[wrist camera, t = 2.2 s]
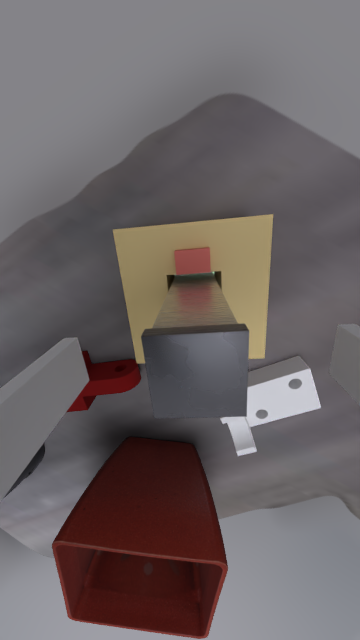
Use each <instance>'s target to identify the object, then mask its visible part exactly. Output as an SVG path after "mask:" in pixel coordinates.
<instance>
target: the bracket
mask: <svg viewBox="0 0 360 640" xmlns="http://www.w3.org/2000/svg"><path fill="white" fill-rule="evenodd" d="M319 408H321V405H320V402H319V398H318V395H317V391H316V388H315V384H314V381H313V377H312V373H311V370H310V368H309V367H308V365H307V364H306V363H305V362H304V361H303V360H302V358H301V357H300V356H296V357H293V358H290V359H287V360H284V361H281V362H278V363H274V364H271V365H268V366H265V367H262V368H259V369H256V370H253V371H250V372H248V390H247V417H220V419H221V421H222V423H223V424H224V423H227V424H228V426H229V429H230V431H231V434H232V437H233V441H234V444H235V449H236V452H237V454H238V456H240V455H245V454H249V453H253V452H257V450H256V446H255V443H254V439H253V436H252V433H251V429H250V427H252V426H256V425H259V424H263V423H267V422H271V421H274V420H278V419H282V418H285V417H289V416H293V415H296V414H300V413H304V412H308V411H311V410H315V409H319Z"/></svg>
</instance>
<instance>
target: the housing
mask: <svg viewBox="0 0 360 640" xmlns="http://www.w3.org/2000/svg"><path fill="white" fill-rule="evenodd" d="M272 226H273V214H271V215H260V216H250V217H240V218H229V219H219V220H208V221H198V222H187V223H177V224H166V225H156V226H146V227H135V228H125V229H114V230H113V234H114V240H115V245H116V251H117V257H118V262H119V268H120V273H121V279H122V284H123V290H124V295H125V301H126V307H127V312H128V318H129V323H130V329H131V334H132V340H133V346H134V351H135V357H136V362H137V364H140V363H145V359H144V353H143V346H142V340H141V335H142V333H143V332H144V330H145V329H151V328H152V327H153V325H154V322H155V320H156V318H157V316H158V313H159V311H160V309H161V307H162V305H163V302H164V300H165V298H166V296H167V293H168V291H169V289H170V287H171V285H172V282H173V280H174V278H175V275H174V274H176V275H183V274H196V273H209V272H214V277H215V279H216V281H217V283H218V285H219V287H220V289H221V291H222V293H223V295H224V297H225V299H226V301H227V303H228V305H229V307H230V309H231V311H232V313H233V315H234V317H235V319H236V321H237V323H238V324H242V323H245V324H246V326H247V328H248V329H249V357H248V359H259V358H265V342H266V325H267V309H268V292H269V275H270V259H271V242H272Z"/></svg>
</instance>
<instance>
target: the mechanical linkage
mask: <svg viewBox="0 0 360 640" xmlns="http://www.w3.org/2000/svg"><path fill="white" fill-rule="evenodd" d="M82 355H83V359H84V362H85V366H86V369H87V373H88V376H89V382H88V383H87V384H86V386H85V387H84V388H83V390H82V391H81V393H80V394H79V395H78V397H77V398H76V399H75V401H74V402H73V403H72V405H71V406H70V408H69V409H68V410H67V412H72V411H82V410H88V409H89V407H90V406H91V404H92V402H93V401H94V399H95V397H96V396H97V395H104V394H114V393H122V392H126V391H128V390H131V389H132V388H134V387H135V386H137V385H138V384H139V382H140V380H141V375H140V371H139V367H138V364H137V362H136V361H135V360H133V359H128V360H120V361H112V362H104V363H96V364H92V363H91V360H90V357H89V354H88V352H87V351H82Z"/></svg>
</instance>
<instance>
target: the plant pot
mask: <svg viewBox="0 0 360 640" xmlns="http://www.w3.org/2000/svg"><path fill="white" fill-rule="evenodd" d="M52 549H53V554H54V557H55V561H56V566H57V570H58V574H59V578H60V583H61V587H62V591H63V596H64V600H65V605H66V610H67V614H68V617H69V618H70V619H72V620H75V621H80V622H86V623H93V624H99V625H107V626H114V627H120V628H127V629H134V630H141V631H148V632H155V633H162V634H169V635H176V636H183V637H191V638H198V639H201V638H206V637H207V636H208V634H209V630H210V627H211V623H212V620H213V616H214V613H215V609H216V605H217V602H218V599H219V596H220V593H221V590H222V587H223V583H224V580H225V577H226V574H227V571H228V565H227V560H226V554H225V549H224V544H223V538H222V534H221V529H220V525H219V521H218V517H217V513H216V509H215V505H214V501H213V497H212V494H211V490H210V487H209V484H208V481H207V477H206V474H205V471H204V469H203V466H202V463H201V460H200V458H199V455H198V453H197V451H196V449H195V447H194V445H192V444H189V443H181V442H172V441H163V440H155V439H146V438H137V437H128V438H126V439H125V440H124V441H123V442H122V443H121V444H120V445H119V447H118V448H117V449H116V450H115V451H114V452H113V454H112V455H111V456H110V457H109V458H108V460H107V461H106V462H105V463H104V465H103V466H102V467H101V469H100V470H99V471H98V473H97V474H96V476H95V477H94V478H93V480H92V481H91V483H90V484H89V486H88V487H87V488H86V490H85V491H84V493H83V494H82V496H81V497H80V499H79V500H78V502H77V504H76V505H75V507H74V508H73V510H72V511H71V513H70V515H69V516H68V518H67V519H66V521H65V523H64V524H63V526H62V528H61V529H60V531H59V533H58V535H57V536H56V538H55V540H54V542H53V543H52Z"/></svg>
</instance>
